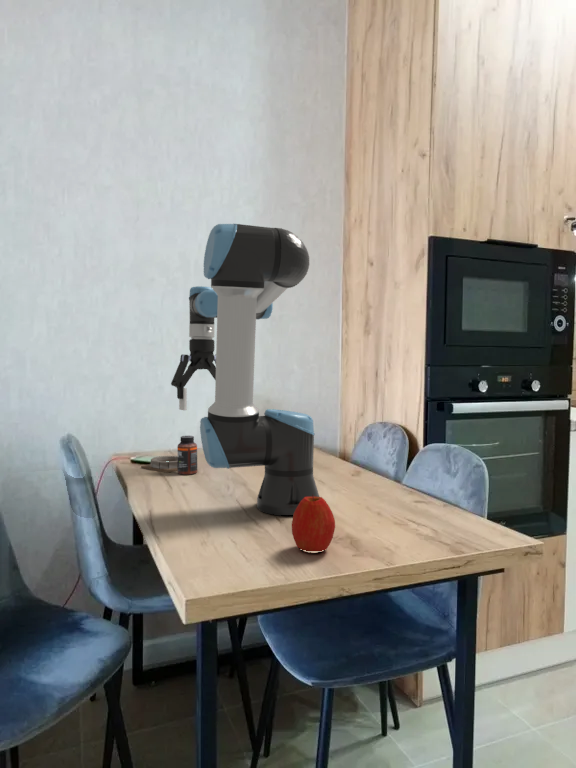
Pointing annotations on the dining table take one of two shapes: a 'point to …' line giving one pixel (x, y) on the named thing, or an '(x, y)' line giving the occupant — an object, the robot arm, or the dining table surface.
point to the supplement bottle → (187, 456)
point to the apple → (313, 524)
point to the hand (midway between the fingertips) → (201, 408)
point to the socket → (163, 464)
